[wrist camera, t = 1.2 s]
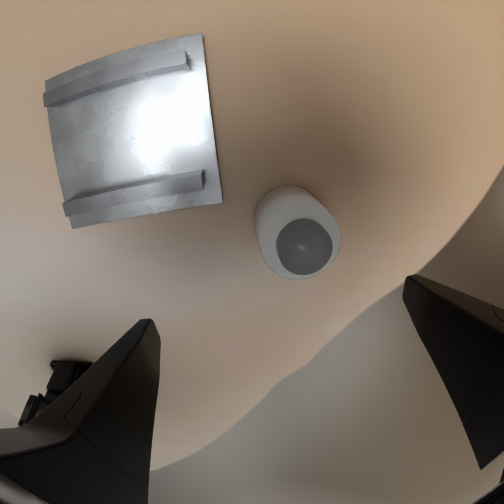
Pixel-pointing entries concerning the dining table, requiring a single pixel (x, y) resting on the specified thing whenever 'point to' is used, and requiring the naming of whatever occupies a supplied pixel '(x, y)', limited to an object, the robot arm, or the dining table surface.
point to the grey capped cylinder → (295, 233)
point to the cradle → (134, 133)
